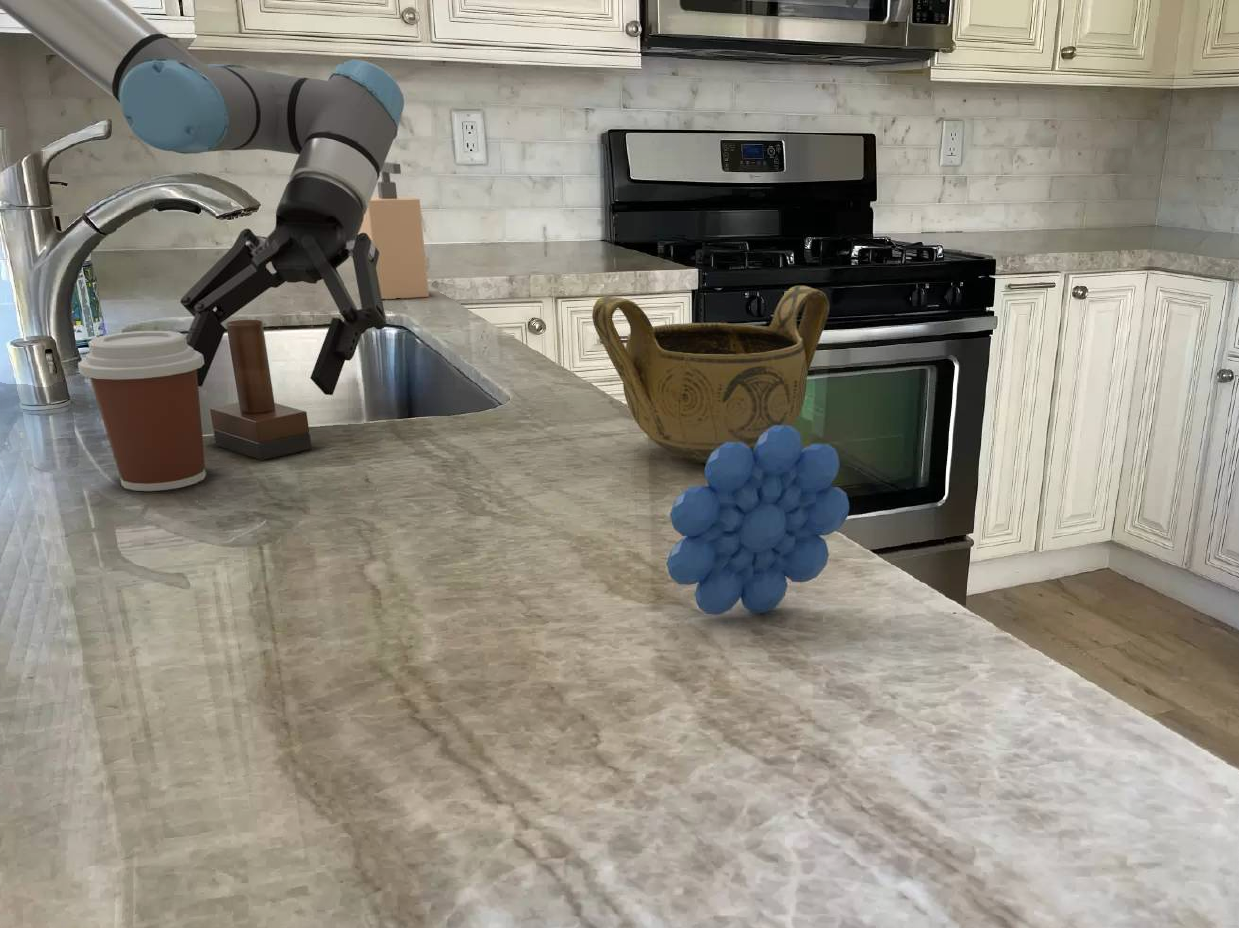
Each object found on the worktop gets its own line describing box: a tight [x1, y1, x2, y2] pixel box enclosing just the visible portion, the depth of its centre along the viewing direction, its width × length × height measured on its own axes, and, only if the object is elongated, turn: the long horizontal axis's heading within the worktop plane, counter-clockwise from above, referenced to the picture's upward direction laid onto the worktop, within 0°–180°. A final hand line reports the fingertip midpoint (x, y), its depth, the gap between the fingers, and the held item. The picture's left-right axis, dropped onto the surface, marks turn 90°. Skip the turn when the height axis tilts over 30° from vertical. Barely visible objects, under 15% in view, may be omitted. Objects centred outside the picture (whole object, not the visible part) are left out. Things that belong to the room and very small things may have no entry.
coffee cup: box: [77, 330, 207, 492], centre depth 93 cm, size 9×9×12 cm
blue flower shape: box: [666, 425, 851, 616], centre depth 69 cm, size 12×7×12 cm, turn 108°
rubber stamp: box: [209, 319, 312, 461], centre depth 103 cm, size 8×5×12 cm, turn 52°
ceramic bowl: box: [591, 285, 830, 465], centre depth 102 cm, size 22×17×15 cm
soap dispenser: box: [360, 161, 430, 300], centre depth 192 cm, size 13×9×22 cm
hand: (254, 382), depth 103 cm, fingers open, 13 cm apart
